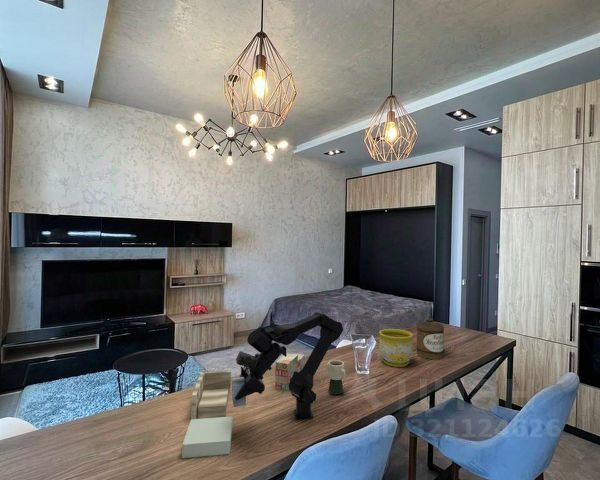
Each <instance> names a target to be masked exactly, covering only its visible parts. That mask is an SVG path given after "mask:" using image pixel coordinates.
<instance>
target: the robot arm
mask: <svg viewBox="0 0 600 480" xmlns="http://www.w3.org/2000/svg"><path fill="white" fill-rule="evenodd" d="M317 327H320V329H319V338H318V341H317V342H316V344H315V346H314V348H313V350H312V351H311V353H310V355H309V356H308V358H307V360H306V362H305V365H304V367H303V369H302V370H301V371H299V372H297V371H295V372H294V373H293V376H292V378H291V379H290V380H289V381H290V383H289V385H288V386H289V390H288V392H290V394H291V396H292V397H294V398H295V409H294V410H293V412H294V416H295V419H296V420H298V421H299V420H309V419H311V420H312V419H314V414H313V412H312V404H313V403H314V402H315V401H316V399H317V394H316V393H315V392H314V391H313V388H314V387H313V386H314V376H315V375H316V373H317V371H318V369H319V367H320V365H321V364H322V362H323V359H324V357H325V355H326V354H327V352H328V350H329V348H330V346H331V344H333V343H334V342H336V341H337V340H338V339H339V338H340V336H341V335H342V334H343V331H344V327H343V324H342V322H341V321H336V320H335V319H333V318H331V317H330V316H328V315H327V314H325V313H321V312H319V311H318V312H314V314H311V315H310V316H309V315H308V316H307V317H305V318H303V319H302V318H301V319H300V320H298V321H295V322H293V323H287V324H285V323H283V324H280V325H276V326H274V328H273V329H272V330H270V331H266V329H265V328H263V327H262V326H258V327H257V328H256V329H254V330H253V331H252V332H250V333H249V334H248V335H247V338H246V340H247V341H246V343H247V344H248V345H250V346H251V347H252V348H253V349H254V350H256V351H257V353H256V354H254V355H251V354H250V353H247V352H244V351H242V350H241V351H239V352H238V355H237V356H236V359H235V362H236V364H237V365H239V366H240V375H239V377H244V385H243V386H242V388H241V389H240V391H239V392H238V393H237V395H236V397H235V399H236V400H239V399H241V398H243V397H245V396H246V397H247V396H250V395H252V394H255V393H258V394H259V395H262V394H263V393H264V392H265V390H266V385H265V383H264V381H263V379H264V375H265V374H266V372H267V371H271V370H272V366H273V364H274V363H276V361H277V360H278V359H279V358H280V356H281V355H283V356H285V357H286V356H287V354H286V353H287V351H288V350H287V347H286V346H289V345H290V344H292V343H293V342H295V341H296V340H297V339H298V337H299V336H300V335H302V334H304V333H306V332H308V331H311V330H313V329H315V328H317ZM280 344H282V346H281V345H280Z"/></svg>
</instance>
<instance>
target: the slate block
mask: <svg viewBox="0 0 600 480" xmlns="http://www.w3.org/2000/svg"><path fill="white" fill-rule="evenodd" d="M243 385H244V377H240V376H238V377H233V378H231V400H232V405H233V408H237V407H246V406H247V396H245V397H243V398H241V399H239V400H236V399H235V397H236V395H237V393H238V392H239V391H240V389H241V388H242V386H243Z"/></svg>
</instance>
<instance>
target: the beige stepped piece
mask: <svg viewBox="0 0 600 480" xmlns="http://www.w3.org/2000/svg"><path fill="white" fill-rule="evenodd" d="M231 377H232V370H229V369H226V370H212V371H211V370H210V371H201V372H200V374H199V376H198V379H197V381H196V384H195V386H194V389H193V391H192V394H191V416H190V418H191V419H204V418H217V417H227V411H228V410H227V409H228V402H229V393H230V394H231V393H232V378H231ZM191 419H190V420H191Z"/></svg>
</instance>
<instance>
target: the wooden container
mask: <svg viewBox="0 0 600 480" xmlns="http://www.w3.org/2000/svg"><path fill="white" fill-rule="evenodd" d="M426 320H427V321H419V322H417V324H416V355H417V354H418V355H417V356H418V357H421V358H423V357H424V359H427V358H429V359H428V360H441V359H444V358H445V336H444V335H445V332H444V329H445V327H444V324H443V323H439V322H434V319H433V318H432V317H427V318H426Z"/></svg>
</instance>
